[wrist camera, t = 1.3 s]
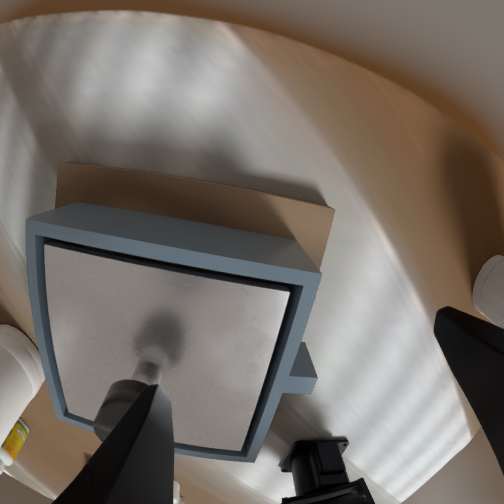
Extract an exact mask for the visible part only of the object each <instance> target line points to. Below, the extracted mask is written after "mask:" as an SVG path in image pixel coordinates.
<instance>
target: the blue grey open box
mask: <svg viewBox="0 0 504 504" xmlns="http://www.w3.org/2000/svg"><path fill="white" fill-rule="evenodd" d="M50 241H51V242H56V243H60V244H65V245H69V246H74V247H78V248H83V249H84V245H87V246H91V247H96V248H101V249H106V250H111V251H116V252H121V253H126V254H131V255H136V256H141V257H146V258H151V259H156V260H161V261H166V262H172V263H177V264H182V265H188V266H193V267H198V268H204V269H209V270H215V271H220V272H226V273H232V274H237V275H243V276H249V277H254V278H260V279H266V280H272V281H276V284H275V285H278V286H285V287H288V289H289V291H290V294H289V297H288V301H287V305H286V308H285V312H284V315H283V319H282V322H281V326H280V329H279V333H278V336H277V340H276V343H275V346H274V350H273V353H272V356H271V360H270V363H269V366H268V370H267V373H266V376H265V379H264V383H263V386H262V389H261V392H260V395H259V398H258V401H257V404H256V408H255V411H254V414H253V417H252V420H251V423H250V426H249V429H248V432H247V435H246V437H245V440H244V443H243V446H242V449H241V451H234V450H225V449H216V448H208V447H201V446H195V445H188V444H183V443H177V442H174V453H177V454H183V455H189V456H195V457H202V458H210V459H218V460H227V461H238V462H252V463H254V462H255V460H256V458H257V455H258V453H259V451H260V448H261V446H262V444H263V441H264V439H265V437H266V434H267V432H268V429H269V427H270V424H271V422H272V419H273V417H274V414H275V412H276V409H277V406H278V404H279V401H280V399H281V396H282V393H294V394H311V393H312V390H313V388H314V386H315V383H316V381H317V379H318V377H317V374H316V372H315V369H314V366H313V363H312V360H311V358H310V355H309V352H308V349H307V347H306V344H305V342H301V340H302V337H303V334H304V331H305V328H306V325H307V322H308V318H309V315H310V312H311V309H312V306H313V303H314V299H315V296H316V293H317V289H318V286H319V283H320V279H321V276H322V273H321V272H320V271H319V269H318V268H317V267H316V265H315V264H314V263H313V261H312V260H311V258H310V257H309V256H308V254H307V253H306V252H305V250H304V249H303V248H302V246H301V245H300V244H299V243H298V241H296V240H291V239H286V238H281V237H276V236H270V235H265V234H260V233H255V232H249V231H244V230H239V229H233V228H228V227H223V226H217V225H212V224H206V223H201V222H195V221H189V220H184V219H178V218H173V217H167V216H161V215H155V214H149V213H144V212H138V211H132V210H126V209H120V208H114V207H108V206H101V205H95V204H89V203H83V202H76V203H72V204H69V205H66V206H63V207H60V208H57V209H54V210H51V211H48V212H45V213H42V214H39V215H36V216H33V217H30V218H28V219H26V254H27V271H28V283H29V293H30V302H31V309H32V316H33V323H34V329H35V334H36V340H37V345H38V350H39V354H40V359H41V363H42V367H43V371H44V375H45V379H46V383H47V386H48V390H49V393H50V397H51V400H52V403H53V406H54V410H55V413H56V416H57V419H60V420H62V421H65V422H67V423H70V424H72V425H75V426H78V427H80V428H83V429H86V430H89V431H92V432H95V431H94V429H93V423H94V421H92V420H89V419H86V418H83V417H80V416H77V415H74V414H72V413H69V412H68V408H67V404H66V401H65V397H64V393H63V389H62V385H61V381H60V377H59V372H58V367H57V362H56V357H55V352H54V346H53V340H52V334H51V327H50V320H49V312H48V303H47V292H46V278H45V256H44V244H46V243H48V242H50Z"/></svg>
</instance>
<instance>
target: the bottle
mask: <svg viewBox="0 0 504 504" xmlns="http://www.w3.org/2000/svg"><path fill="white" fill-rule="evenodd" d="M44 380H45V375H44V371H43V367H42V363H41V359H40V354H39V351H38V350H37V348H36V346H35V345H34V344H33V343H32V342H31V341H30V339H29V338H28V337H27V336H26V335H24V334H23V333H22V332H21V331H20V330H18V329H17V328H14V327H12V326H10V325H3V324H1V325H0V447H1V445H2V444H3V442H4V440H5V439H6V437H7V436H8V434H9V432H10V431H11V429H12V428H13V426H14V424H15V423H16V421H17V420H18V418H19V417H20V415H21V414H22V412H23V411H24V409H25V408H26V406H27V405H28V403H29V402H30V400H32V399H33V398H34V396H35V395H36V393H37V392H38V390H39V388H40V386H41V385H42V383H43V382H44Z"/></svg>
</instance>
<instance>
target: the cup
mask: <svg viewBox="0 0 504 504" xmlns="http://www.w3.org/2000/svg"><path fill="white" fill-rule="evenodd" d="M472 301H473V305H474V307H475V309H476V310H477V311H479V312H480V313H481V314H483V315H484V316H485V317H486V318H488V319H489V320H490V321H491V322H492V323H493V324H494V325H496V326H499V327H501V328H503V329H504V256H501V255H496V256H493V257H491V258H490V259H489V260H488V261H487V262H486V263H485V264H484V265H483V267H482V268H481V270H480V272H479V273H478V276H477V278H476V280H475V283H474V287H473V293H472Z"/></svg>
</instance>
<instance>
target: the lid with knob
mask: <svg viewBox="0 0 504 504" xmlns="http://www.w3.org/2000/svg"><path fill="white" fill-rule="evenodd" d="M44 256H45V278H46V292H47V303H48V312H49V320H50V327H51V334H52V340H53V346H54V352H55V357H56V362H57V367H58V372H59V377H60V381H61V385H62V389H63V393H64V397H65V401H66V404H67V408H68V412H69V413H72V414H74V415H77V416H80V417H83V418H86V419H89V420H92V421H94V423H93V429H94V431H95V433H96V435H97V436H98V438H99V439H100V440H101V441H102V442H103V441H104V440H105V439H106V437H107V436H108V435H109V433H110V432H111V431H112V430H113V428H114V427H115V426H116V424H117V423H118V422H119V420H120V419H121V418H122V416H123V415H124V414H125V413H126V411H127V410H128V409H129V407H130V406H131V405H132V403H133V402H134V401H135V399H136V398H137V397H138V396H139V394H140V393H141V392H142V390H143V389H144V388H145V387H146V386H147V385H152V384H159V385H160V386H161V387H162V389H163V390H164V391H165V393H166V394H167V396H168V397H169V399H170V401H171V405H172V419H173V433H174V442H177V443H183V444H188V445H195V446H201V447H208V448H216V449H225V450H234V451H241V449H242V446H243V443H244V440H245V437H246V435H247V432H248V429H249V426H250V423H251V420H252V417H253V414H254V411H255V408H256V404H257V401H258V398H259V395H260V392H261V389H262V386H263V383H264V379H265V376H266V373H267V370H268V366H269V363H270V360H271V356H272V353H273V350H274V346H275V343H276V340H277V336H278V333H279V329H280V326H281V322H282V319H283V315H284V312H285V308H286V305H287V301H288V297H289V294H290V291H289V289H288V287H285V286H278V285H272V284H266V283H260V282H255V281H249V280H243V279H237V278H231V277H226V276H220V275H215V274H209V273H204V272H198V271H193V270H187V269H182V268H177V267H172V266H166V265H161V264H156V263H151V262H146V261H141V260H136V259H131V258H126V257H121V256H116V255H111V254H106V253H102V252H97V251H92V250H88V249H83V248H78V247H74V246H69V245H65V244H60V243H56V242H51V241H50V242H48V243H46V244H44Z"/></svg>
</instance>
